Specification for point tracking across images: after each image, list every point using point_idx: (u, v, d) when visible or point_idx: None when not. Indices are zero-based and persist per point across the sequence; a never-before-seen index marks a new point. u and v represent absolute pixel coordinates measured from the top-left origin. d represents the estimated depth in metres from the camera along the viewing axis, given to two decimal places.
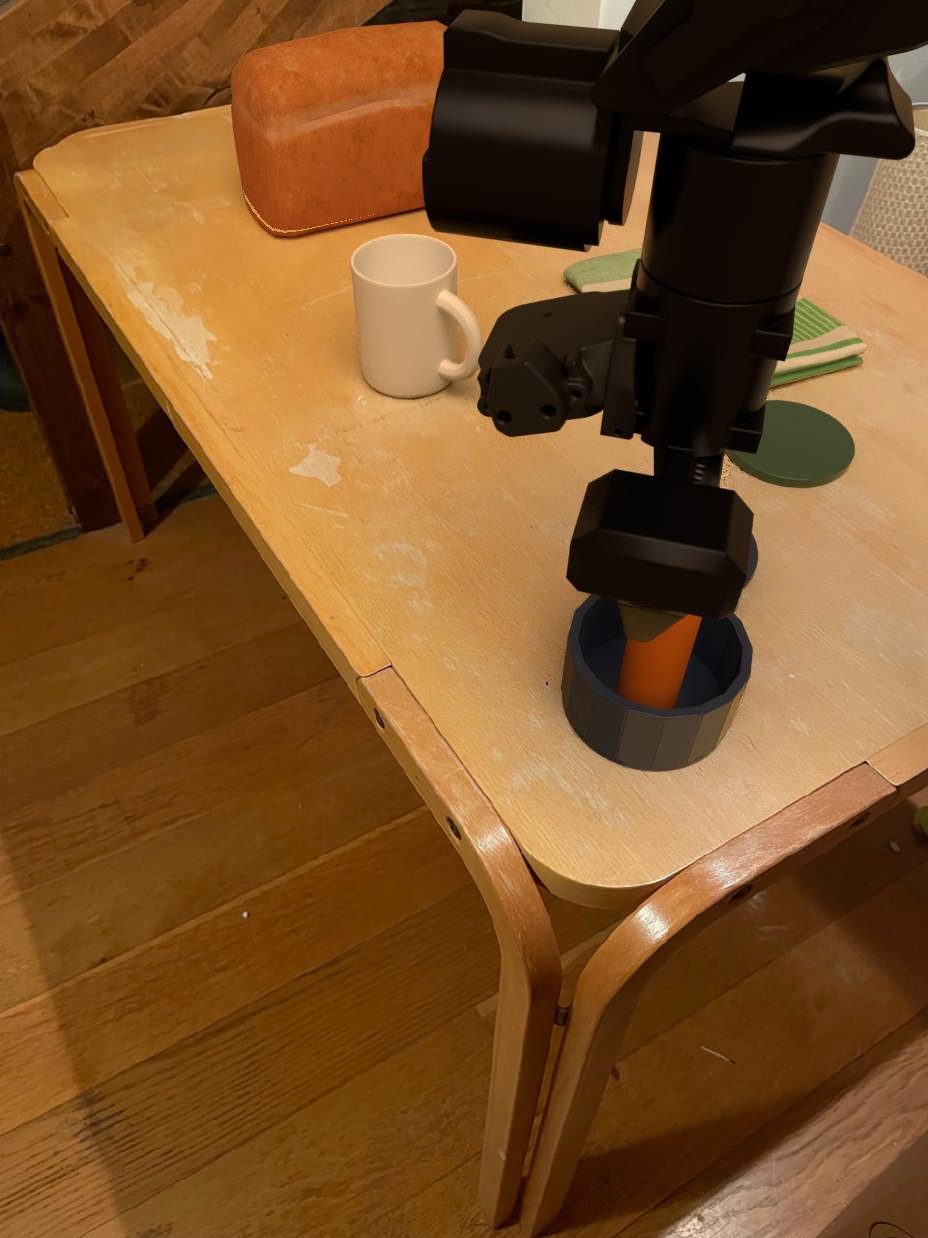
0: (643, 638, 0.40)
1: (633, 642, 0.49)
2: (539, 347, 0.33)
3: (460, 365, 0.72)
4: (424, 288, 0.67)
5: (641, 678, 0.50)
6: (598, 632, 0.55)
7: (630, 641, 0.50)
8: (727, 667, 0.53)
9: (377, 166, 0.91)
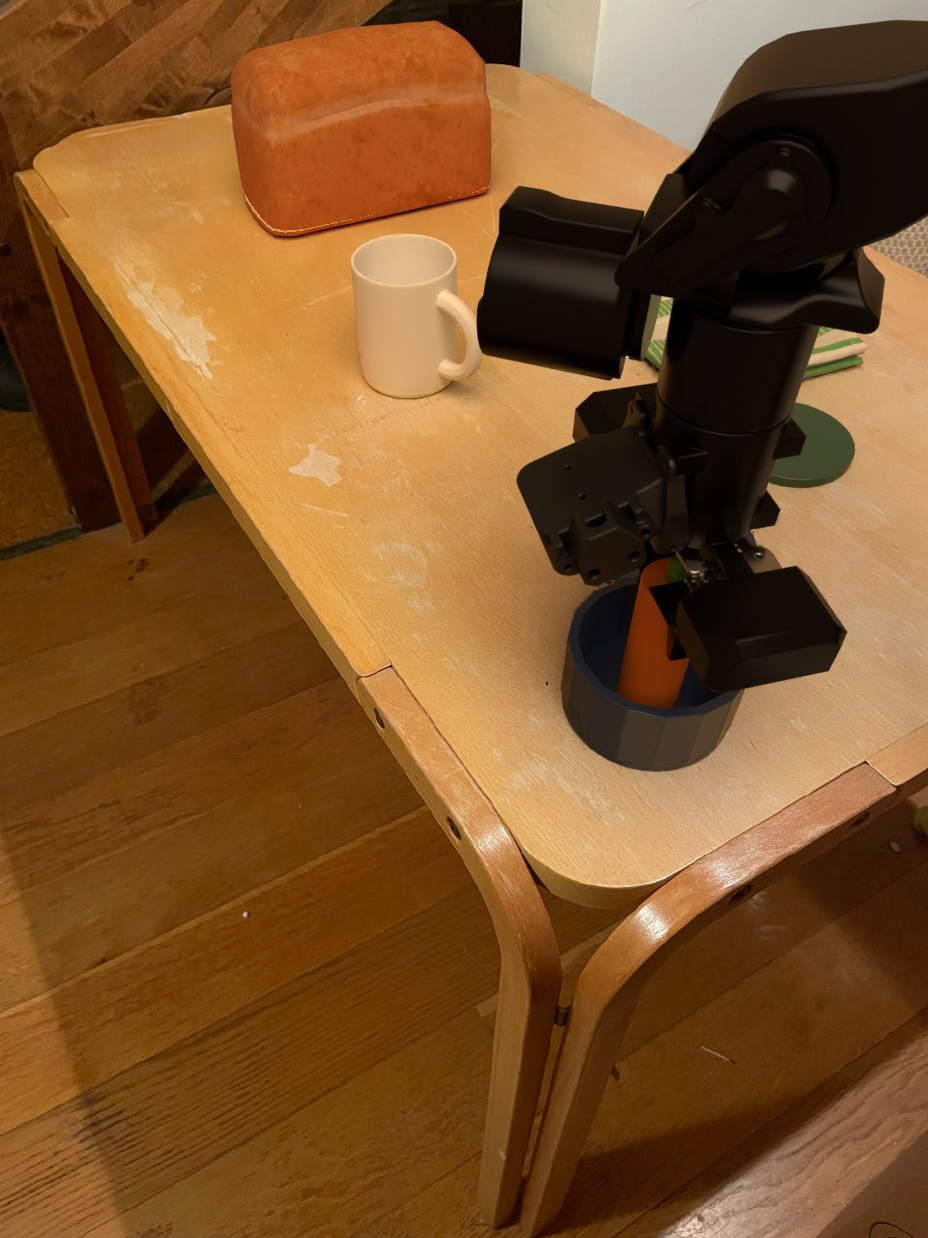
0: (685, 656, 0.48)
1: (633, 642, 0.49)
2: (611, 507, 0.37)
3: (460, 365, 0.72)
4: (424, 288, 0.67)
5: (641, 678, 0.50)
6: (598, 632, 0.55)
7: (630, 641, 0.50)
8: None
9: (377, 166, 0.91)
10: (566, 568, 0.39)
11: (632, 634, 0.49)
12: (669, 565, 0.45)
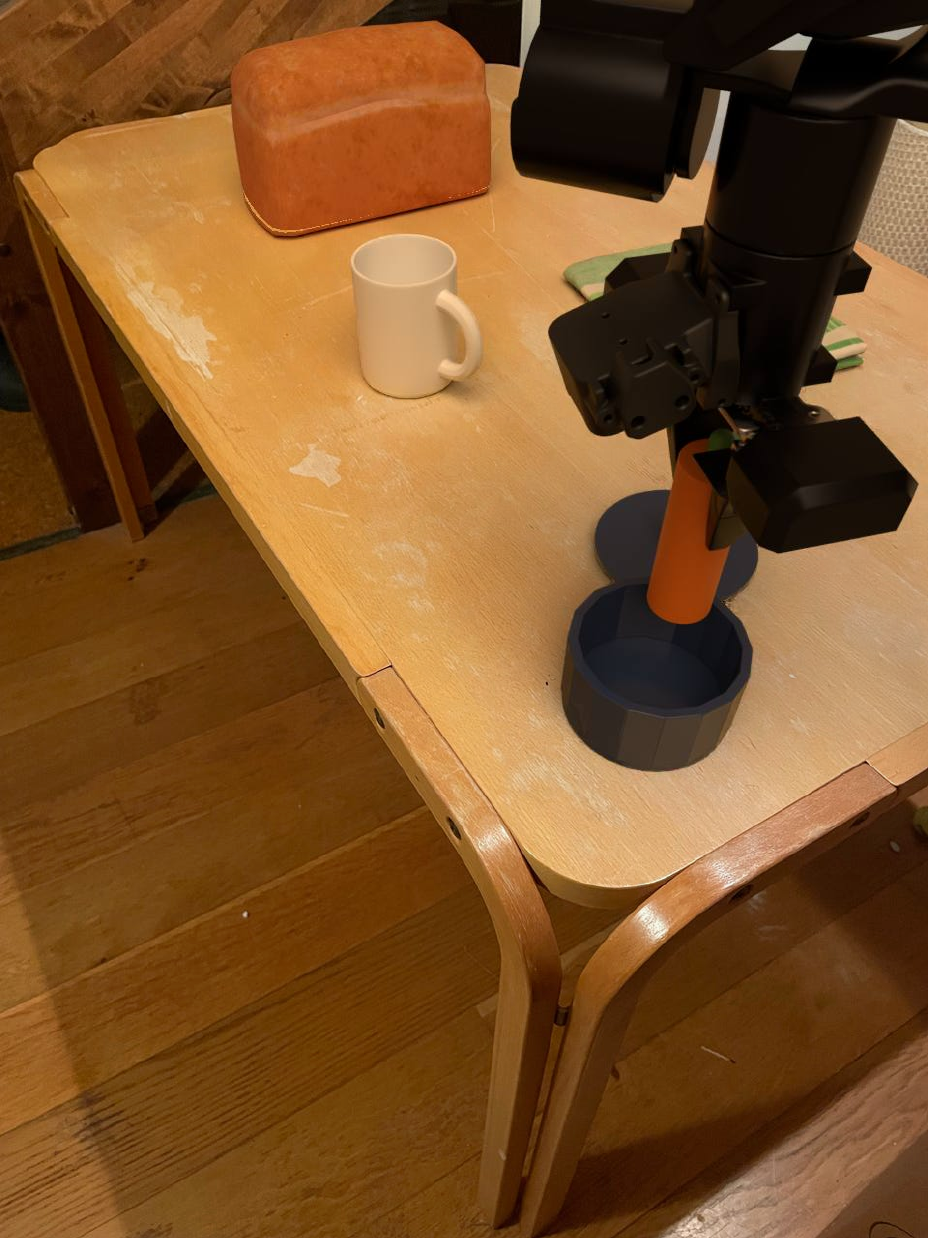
0: (725, 544, 0.44)
1: (668, 534, 0.46)
2: (658, 344, 0.33)
3: (460, 365, 0.72)
4: (424, 288, 0.67)
5: (676, 575, 0.47)
6: (598, 632, 0.55)
7: (664, 534, 0.46)
8: (727, 667, 0.53)
9: (377, 166, 0.91)
10: (606, 420, 0.35)
11: (667, 525, 0.45)
12: (710, 441, 0.42)
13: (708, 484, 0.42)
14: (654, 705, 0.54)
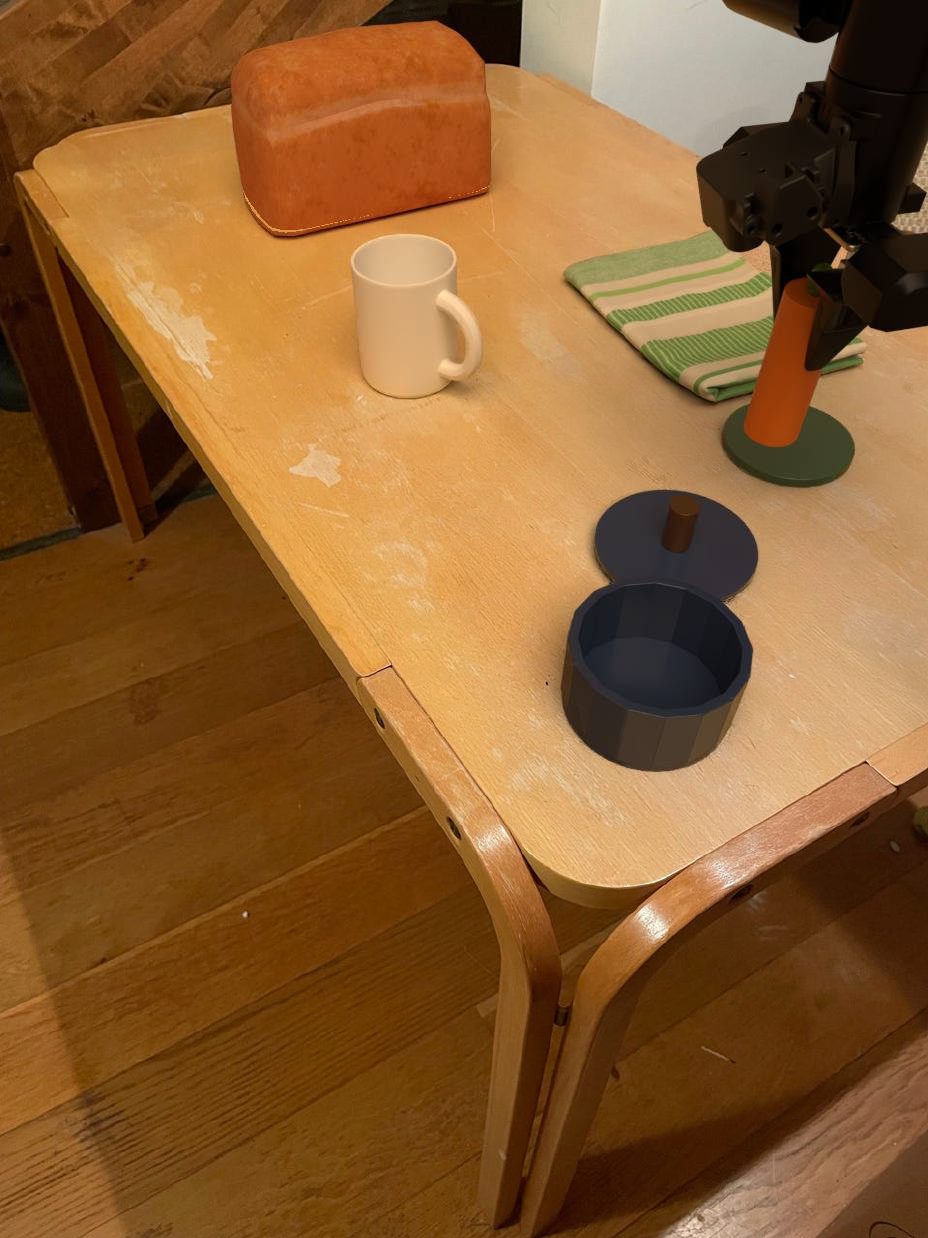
0: (821, 365, 0.54)
1: (770, 361, 0.55)
2: None
3: (460, 365, 0.72)
4: (424, 288, 0.67)
5: (775, 399, 0.56)
6: (598, 632, 0.55)
7: (767, 362, 0.56)
8: (727, 667, 0.53)
9: (377, 166, 0.91)
10: (749, 231, 0.44)
11: (770, 353, 0.55)
12: None
13: (811, 308, 0.51)
14: (654, 705, 0.54)
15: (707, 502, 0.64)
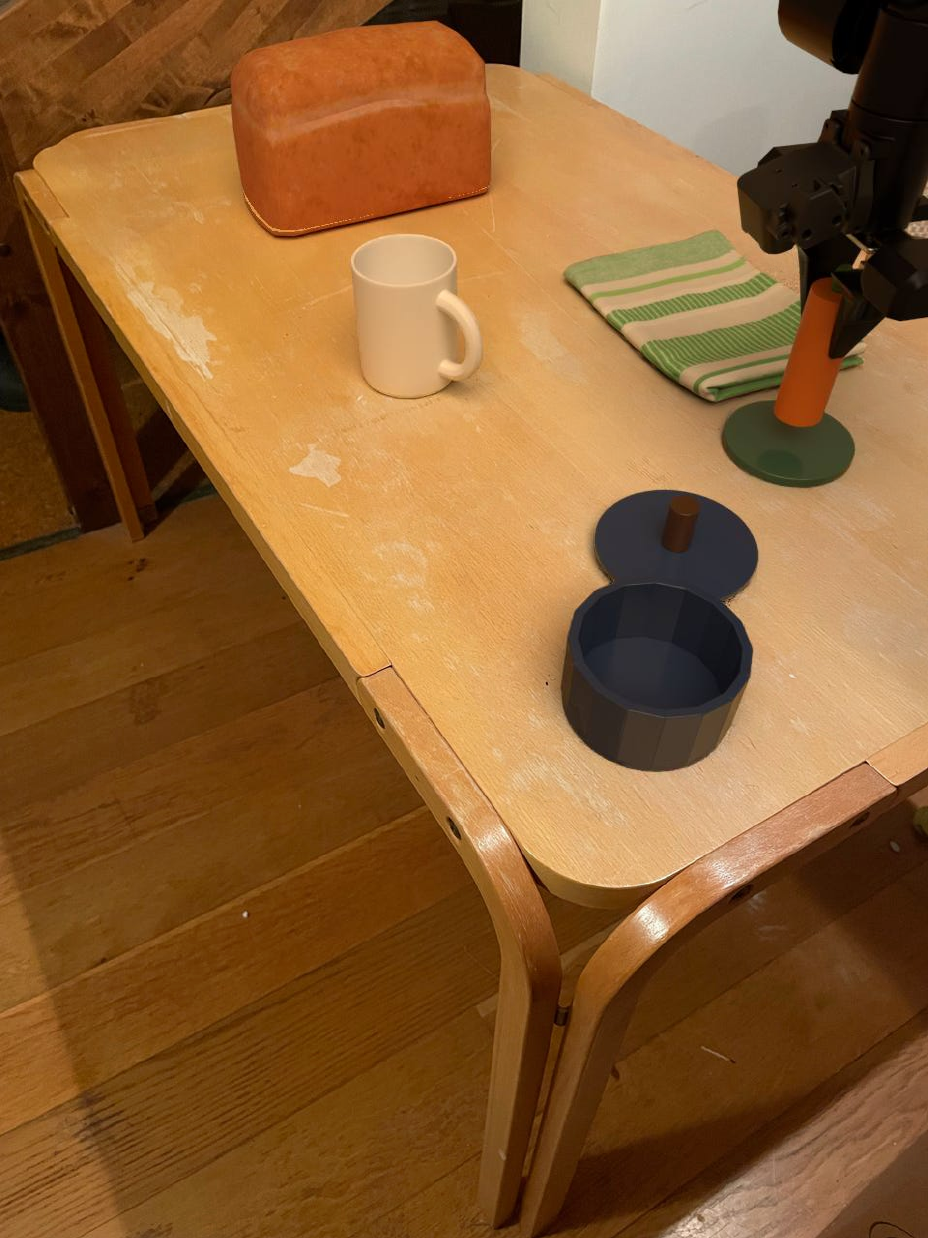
0: (843, 354, 0.62)
1: (798, 350, 0.63)
2: (823, 180, 0.51)
3: (460, 365, 0.72)
4: (424, 288, 0.67)
5: (802, 383, 0.64)
6: (598, 632, 0.55)
7: (795, 351, 0.64)
8: (727, 667, 0.53)
9: (377, 166, 0.91)
10: (783, 236, 0.52)
11: (798, 343, 0.63)
12: None
13: (835, 303, 0.59)
14: (654, 705, 0.54)
15: (707, 502, 0.64)
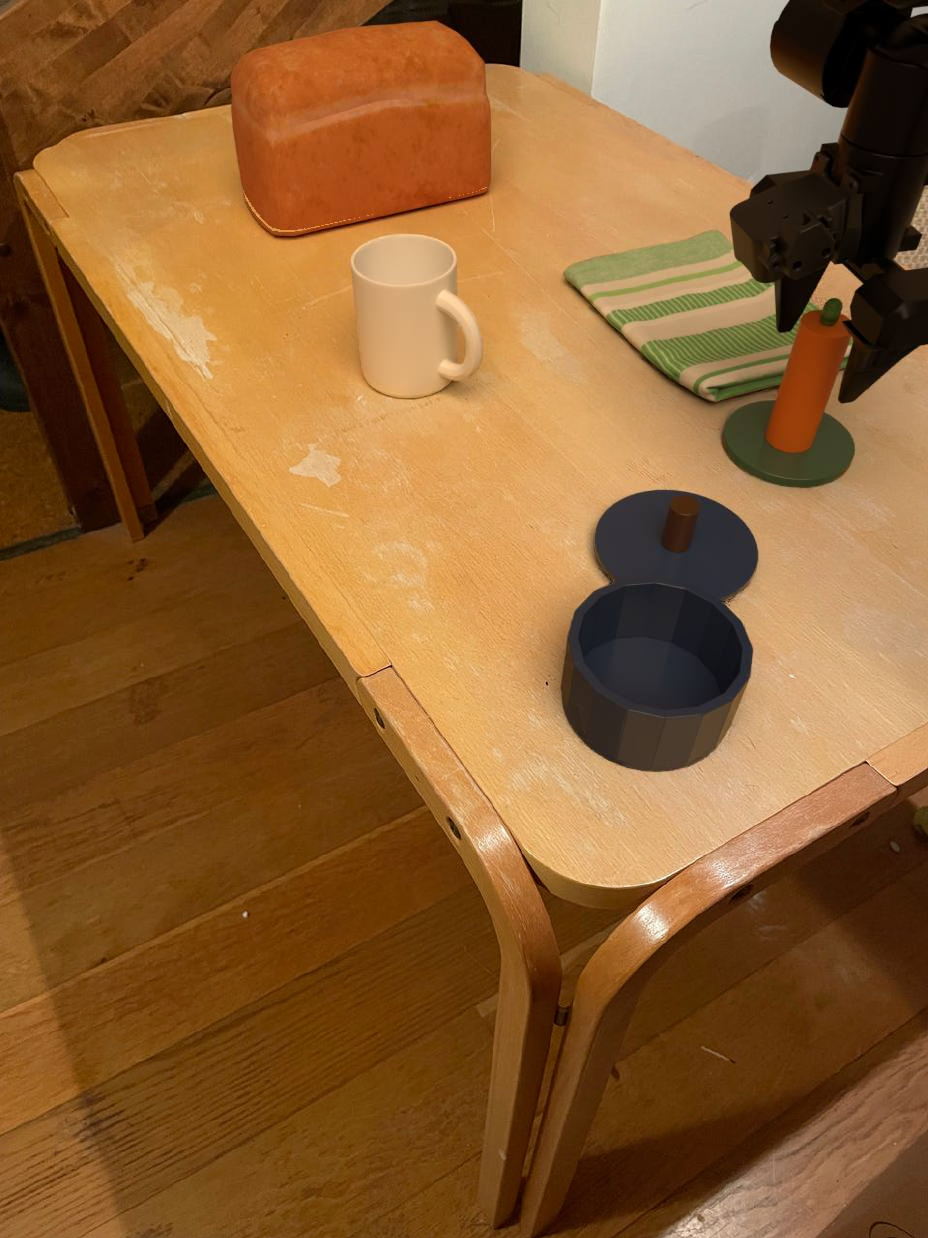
0: (852, 398, 0.61)
1: (789, 380, 0.65)
2: (812, 214, 0.52)
3: (460, 365, 0.72)
4: (424, 288, 0.67)
5: (792, 411, 0.66)
6: (598, 632, 0.55)
7: (785, 381, 0.65)
8: (727, 667, 0.53)
9: (377, 166, 0.91)
10: (774, 266, 0.54)
11: (788, 373, 0.65)
12: (825, 306, 0.61)
13: (824, 336, 0.61)
14: (654, 705, 0.54)
15: (707, 502, 0.64)
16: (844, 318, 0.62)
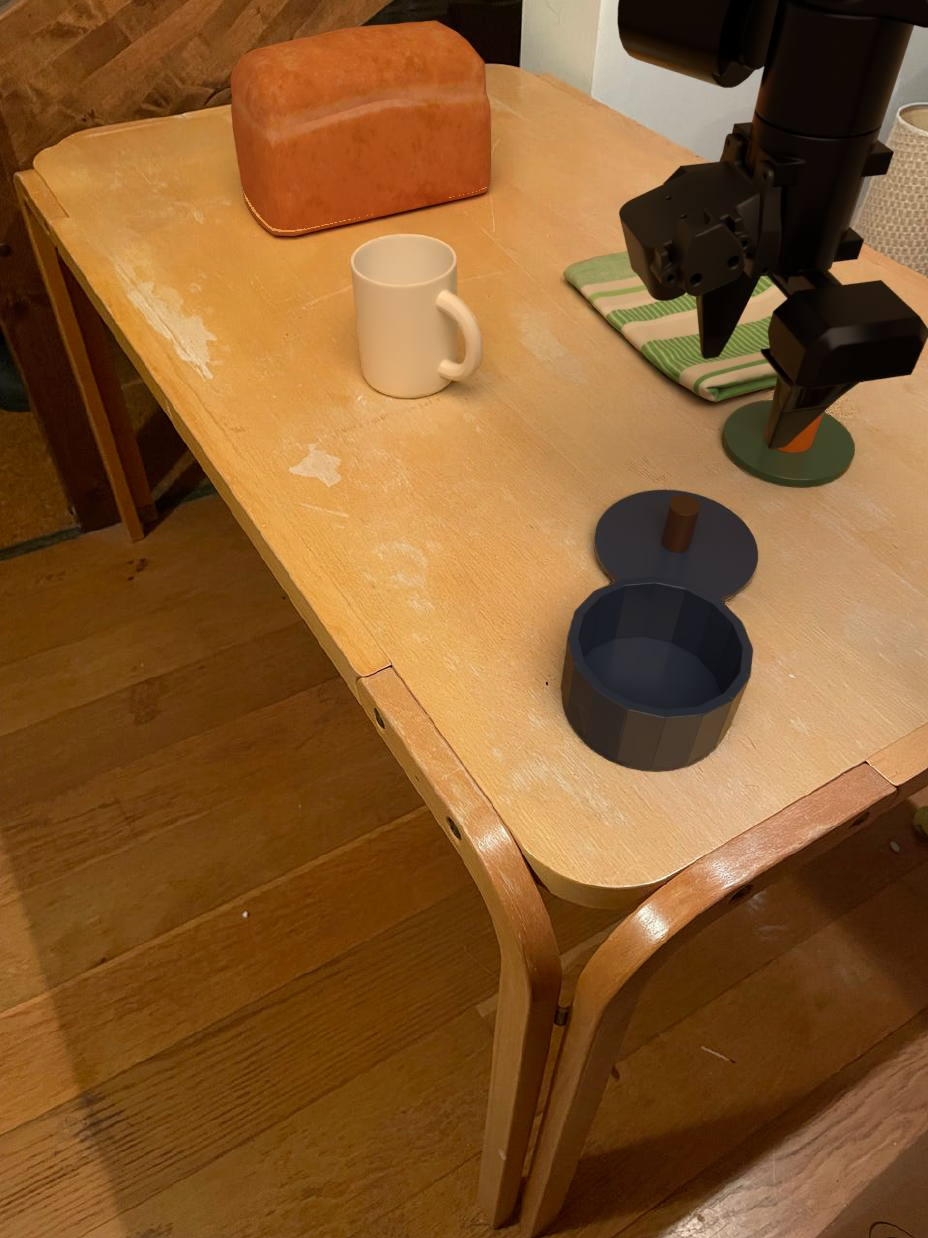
0: (784, 443, 0.49)
1: None
2: (714, 212, 0.40)
3: (460, 365, 0.72)
4: (424, 288, 0.67)
5: None
6: (598, 632, 0.55)
7: None
8: (727, 667, 0.53)
9: (377, 166, 0.91)
10: (669, 280, 0.42)
11: None
12: None
13: None
14: (654, 705, 0.54)
15: (707, 502, 0.64)
16: None
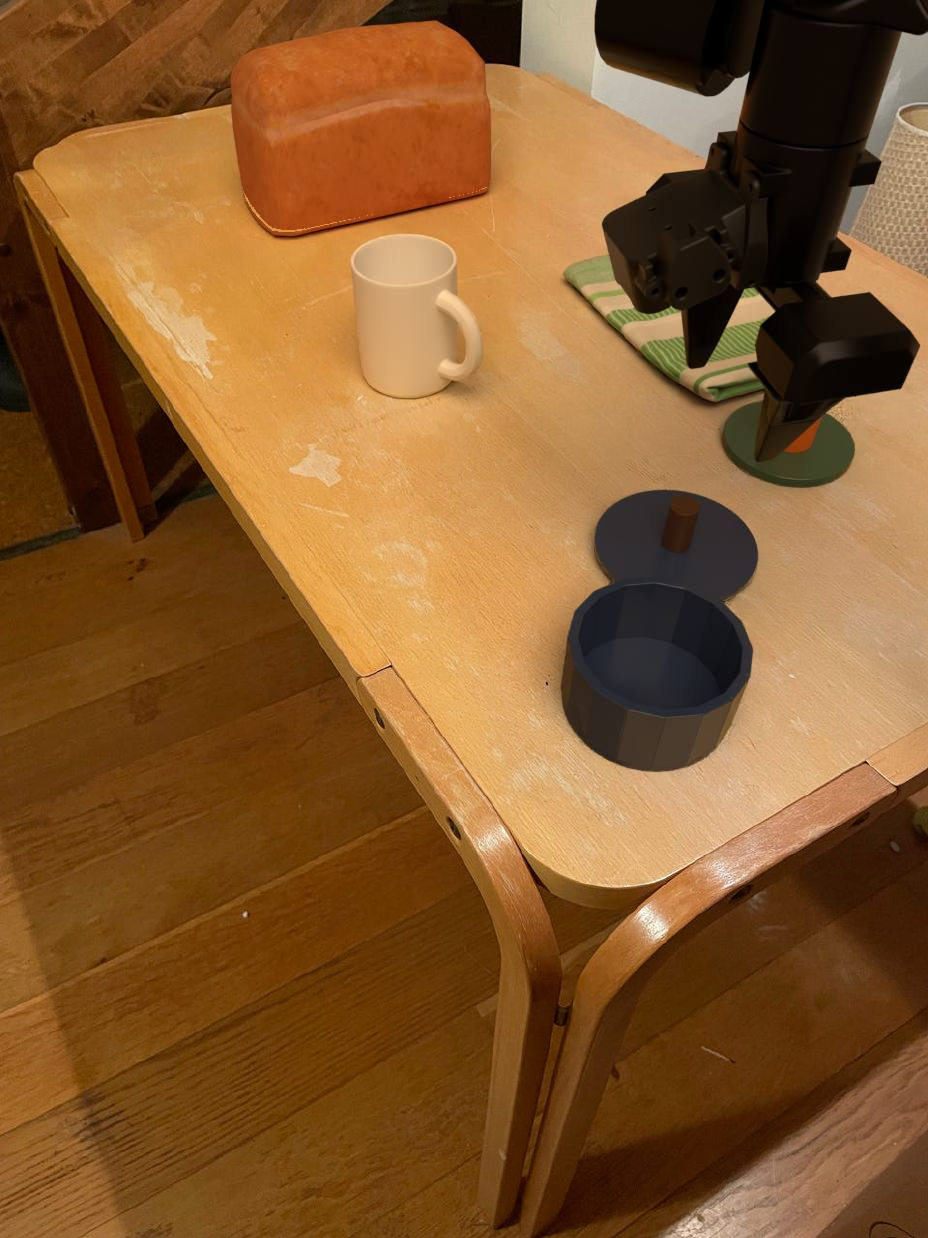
0: (772, 456, 0.49)
1: None
2: (699, 225, 0.39)
3: (460, 365, 0.72)
4: (424, 288, 0.67)
5: None
6: (598, 632, 0.55)
7: None
8: (727, 667, 0.53)
9: (377, 166, 0.91)
10: (653, 294, 0.41)
11: None
12: None
13: None
14: (654, 705, 0.54)
15: (707, 502, 0.64)
16: None
